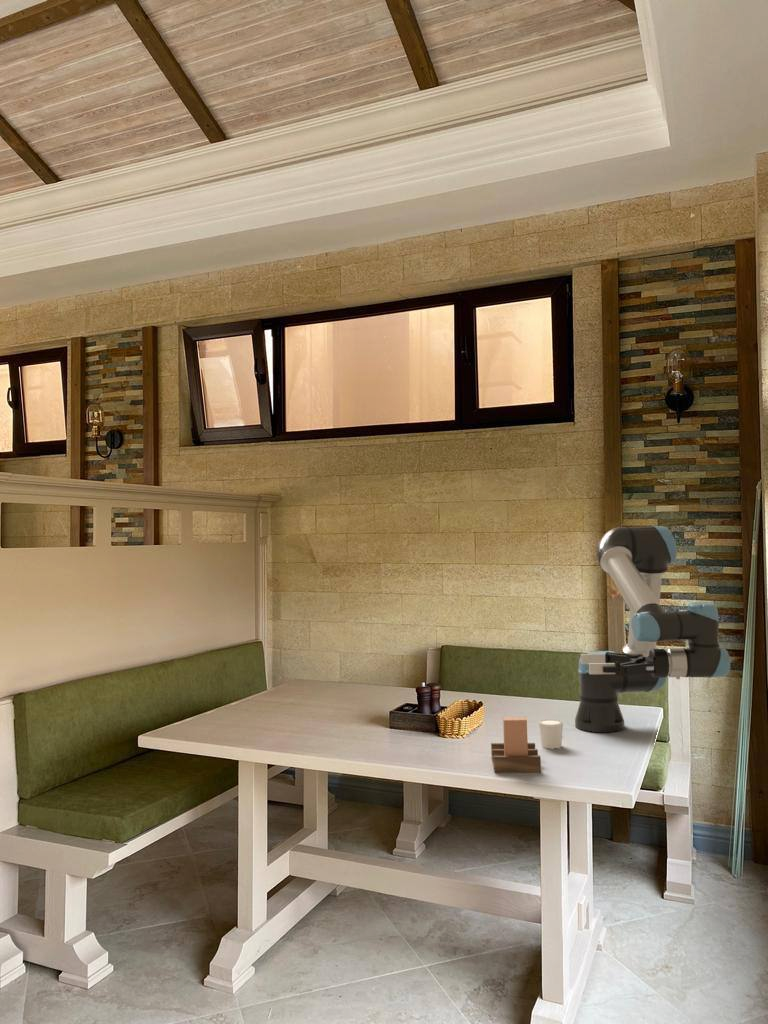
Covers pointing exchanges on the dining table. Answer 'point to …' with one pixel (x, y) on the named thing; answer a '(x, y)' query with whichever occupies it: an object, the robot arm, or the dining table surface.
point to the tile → (515, 736)
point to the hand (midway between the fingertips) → (584, 663)
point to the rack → (515, 760)
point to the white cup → (551, 733)
